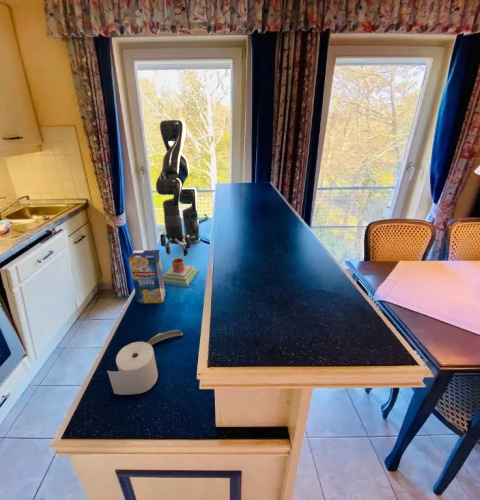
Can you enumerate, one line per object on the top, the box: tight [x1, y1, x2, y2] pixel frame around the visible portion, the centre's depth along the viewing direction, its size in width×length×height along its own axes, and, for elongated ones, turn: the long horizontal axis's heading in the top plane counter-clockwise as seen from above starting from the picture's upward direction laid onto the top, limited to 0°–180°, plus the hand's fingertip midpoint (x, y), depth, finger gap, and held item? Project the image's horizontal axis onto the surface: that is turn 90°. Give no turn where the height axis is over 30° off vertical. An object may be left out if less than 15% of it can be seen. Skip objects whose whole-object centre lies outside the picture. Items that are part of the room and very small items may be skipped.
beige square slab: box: [165, 265, 191, 277], centre depth 136 cm, size 9×9×2 cm
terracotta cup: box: [171, 257, 185, 273], centre depth 135 cm, size 6×6×5 cm
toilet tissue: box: [106, 341, 159, 396], centre depth 83 cm, size 11×12×10 cm
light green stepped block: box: [163, 265, 199, 288], centre depth 137 cm, size 14×14×4 cm
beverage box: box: [127, 249, 167, 304], centre depth 118 cm, size 7×11×22 cm, turn 88°
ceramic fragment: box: [146, 329, 184, 346], centre depth 100 cm, size 14×5×4 cm, turn 112°
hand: (177, 254), depth 132 cm, fingers open, 8 cm apart
